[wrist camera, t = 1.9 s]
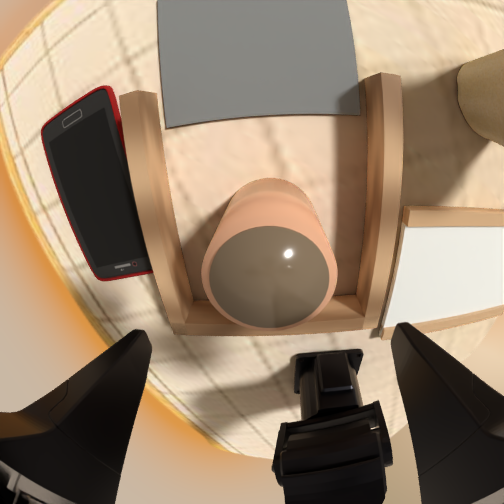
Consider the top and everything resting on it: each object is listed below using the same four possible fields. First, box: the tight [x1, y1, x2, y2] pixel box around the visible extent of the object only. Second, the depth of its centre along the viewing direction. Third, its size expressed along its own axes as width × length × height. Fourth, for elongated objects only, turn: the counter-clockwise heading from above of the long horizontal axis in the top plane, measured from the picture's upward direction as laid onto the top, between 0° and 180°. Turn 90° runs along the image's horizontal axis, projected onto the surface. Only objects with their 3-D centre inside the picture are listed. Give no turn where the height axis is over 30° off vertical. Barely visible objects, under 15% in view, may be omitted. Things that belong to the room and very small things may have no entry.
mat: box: [158, 0, 360, 128], centre depth 12 cm, size 10×12×1 cm
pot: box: [201, 178, 337, 331], centre depth 15 cm, size 6×6×7 cm
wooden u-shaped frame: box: [119, 73, 403, 336], centre depth 16 cm, size 17×15×3 cm
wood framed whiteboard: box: [379, 206, 504, 340], centre depth 18 cm, size 17×12×1 cm
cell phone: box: [41, 86, 154, 281], centre depth 17 cm, size 8×15×1 cm, turn 14°
